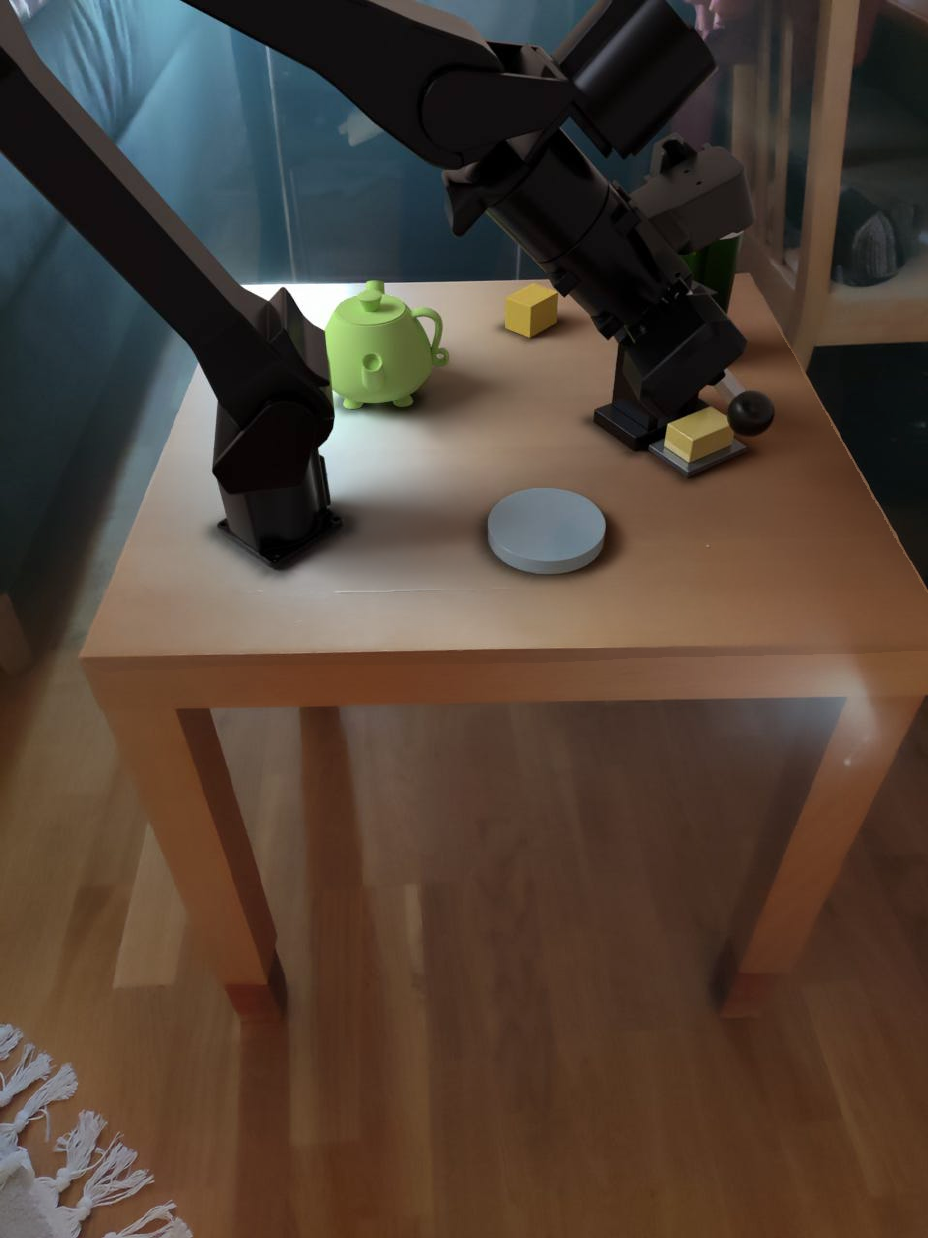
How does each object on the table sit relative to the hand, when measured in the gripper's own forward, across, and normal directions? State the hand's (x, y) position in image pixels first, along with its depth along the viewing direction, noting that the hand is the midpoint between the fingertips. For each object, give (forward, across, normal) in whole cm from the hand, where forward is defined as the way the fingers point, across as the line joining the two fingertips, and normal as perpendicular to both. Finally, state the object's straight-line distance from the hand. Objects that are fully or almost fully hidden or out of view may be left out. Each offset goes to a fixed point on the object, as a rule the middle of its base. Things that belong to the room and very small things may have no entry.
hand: (718, 378), depth 59 cm
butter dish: (+7, +4, +5) cm, 9 cm away
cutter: (+6, +9, +6) cm, 12 cm away
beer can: (+10, +19, +2) cm, 22 cm away
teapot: (-10, +18, +22) cm, 30 cm away
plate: (-3, -4, +15) cm, 15 cm away
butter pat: (+1, +27, +11) cm, 29 cm away
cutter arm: (+3, +5, +1) cm, 6 cm away
